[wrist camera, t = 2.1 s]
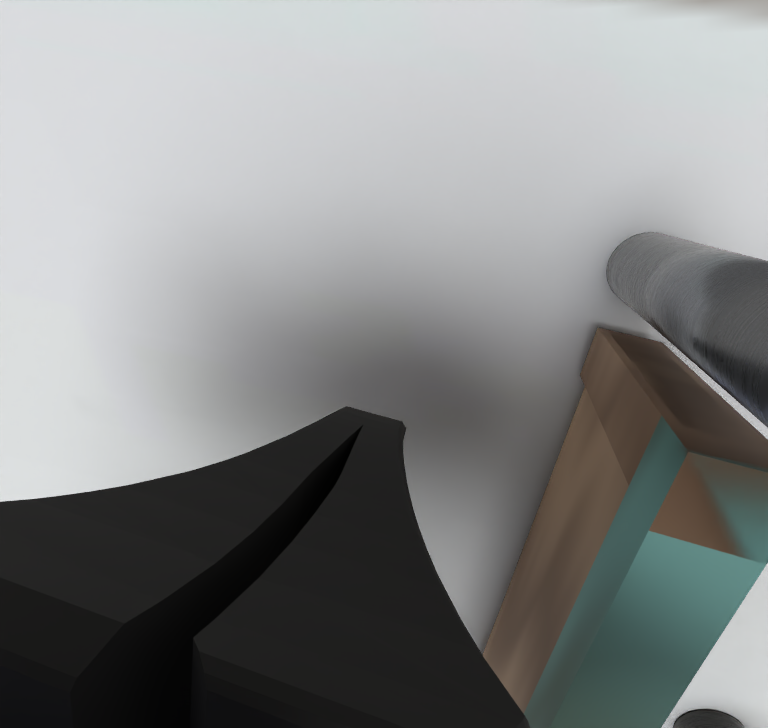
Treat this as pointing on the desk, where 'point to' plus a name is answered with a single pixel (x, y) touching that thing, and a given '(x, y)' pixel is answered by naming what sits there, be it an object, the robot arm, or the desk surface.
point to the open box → (633, 545)
